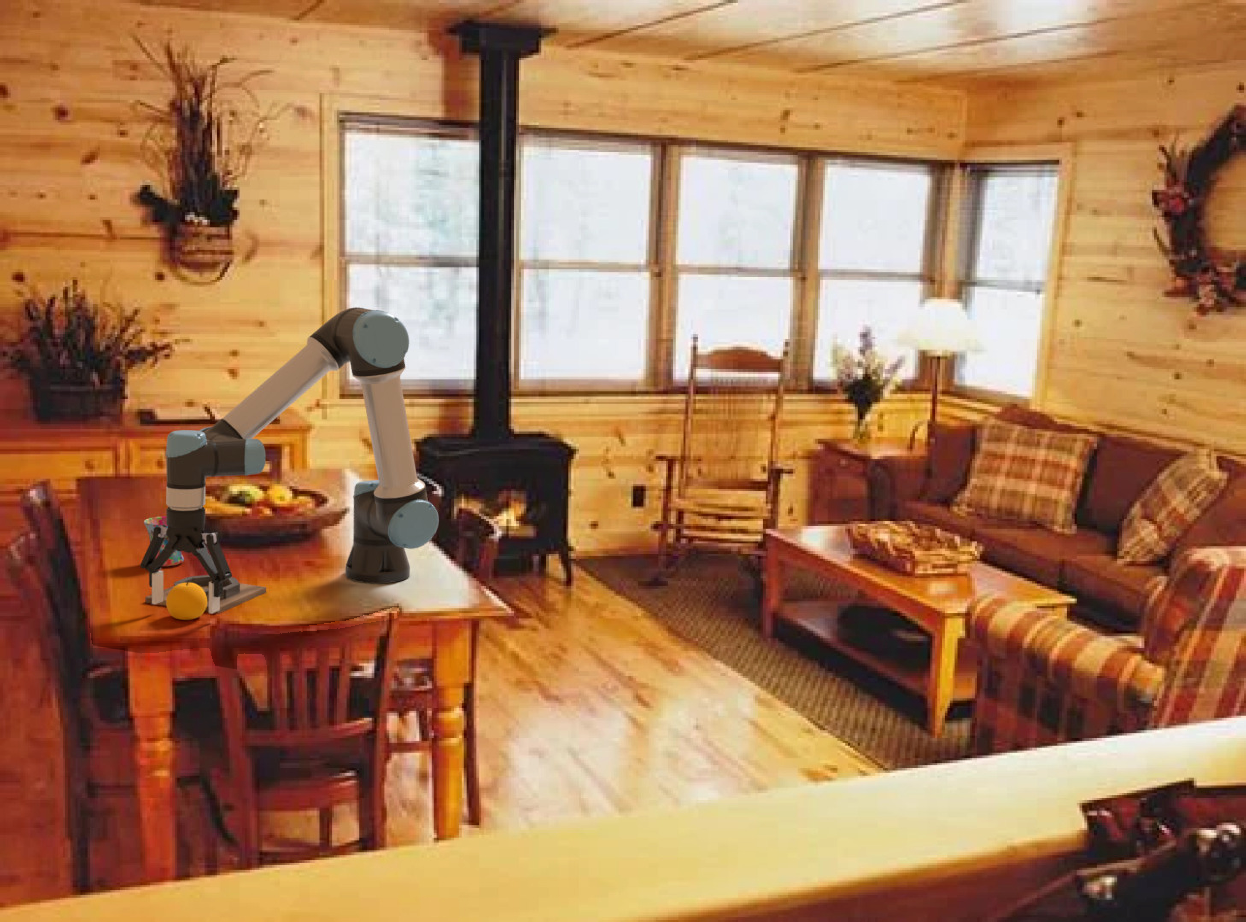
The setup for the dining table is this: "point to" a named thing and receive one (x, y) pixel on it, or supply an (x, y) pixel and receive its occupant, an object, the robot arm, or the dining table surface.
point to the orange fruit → (186, 601)
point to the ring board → (224, 602)
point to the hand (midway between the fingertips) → (185, 607)
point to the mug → (177, 555)
